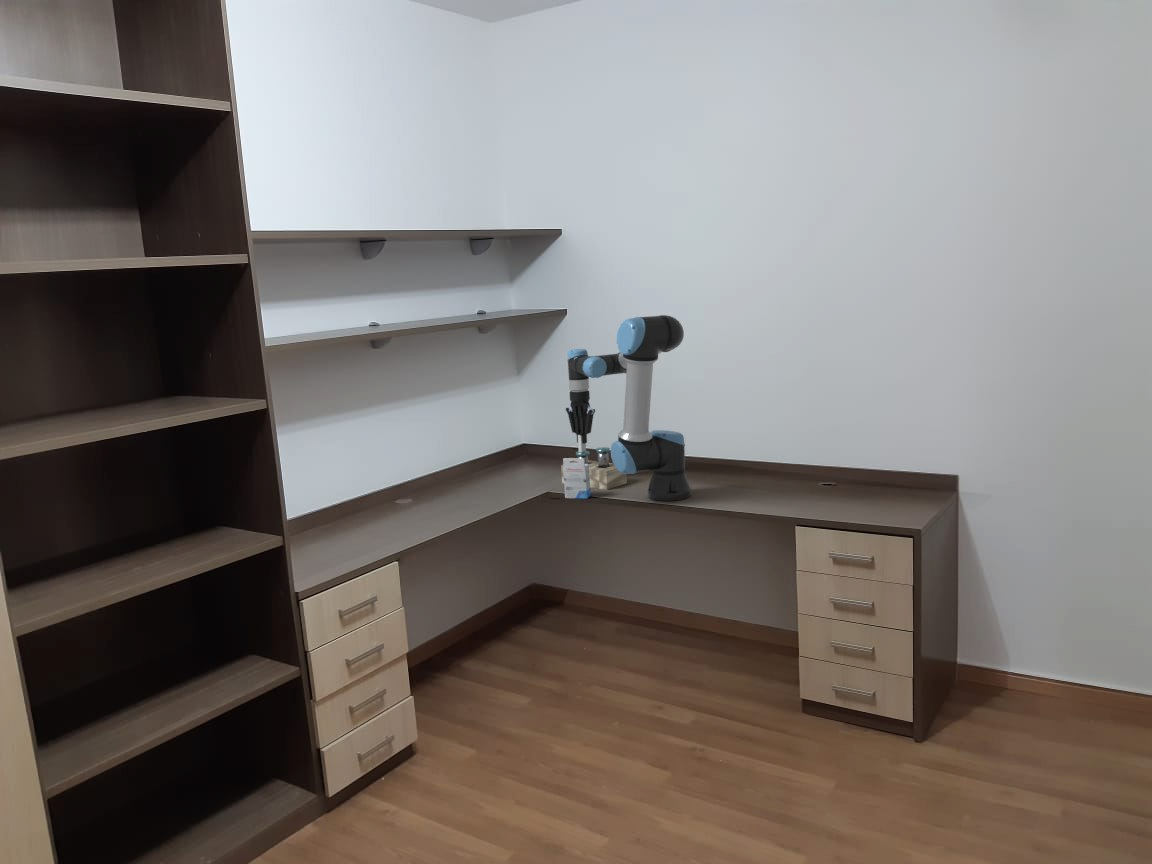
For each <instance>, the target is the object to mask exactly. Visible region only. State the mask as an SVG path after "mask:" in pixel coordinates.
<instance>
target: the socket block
mask: <svg viewBox="0 0 1152 864" xmlns="http://www.w3.org/2000/svg"><path fill="white" fill-rule="evenodd" d="M570 463H578V462H577V461H570ZM588 464H589V474H590V489H598V490H605V491H608V490H612V489H614V488H617V487H620V486H623V485H626V484H627V483H628V481H627V480H628V479H627V478H628V477H627V475H628V474H622V473H621V472H619V471H618V470H617V469H616V467H615V465H614V463H613V462H609V467H608V468H598V460H589V459H588ZM560 468H561V469H560V470H561V484H564V473H563V464H561V465H560Z"/></svg>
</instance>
